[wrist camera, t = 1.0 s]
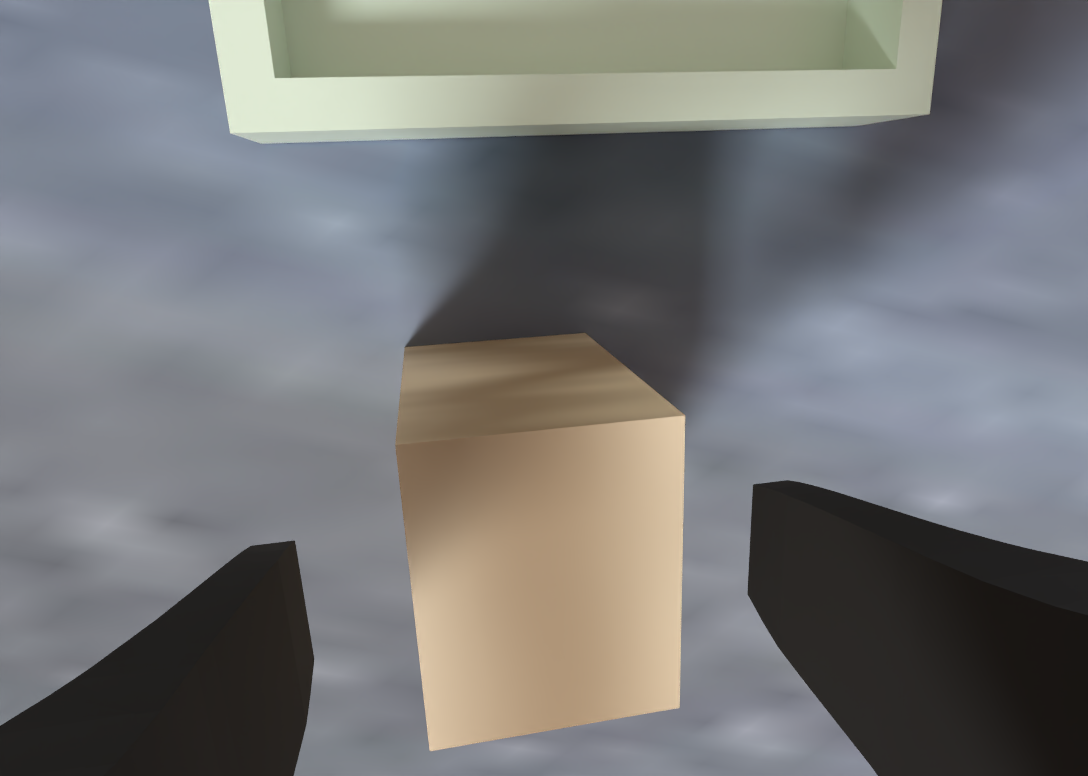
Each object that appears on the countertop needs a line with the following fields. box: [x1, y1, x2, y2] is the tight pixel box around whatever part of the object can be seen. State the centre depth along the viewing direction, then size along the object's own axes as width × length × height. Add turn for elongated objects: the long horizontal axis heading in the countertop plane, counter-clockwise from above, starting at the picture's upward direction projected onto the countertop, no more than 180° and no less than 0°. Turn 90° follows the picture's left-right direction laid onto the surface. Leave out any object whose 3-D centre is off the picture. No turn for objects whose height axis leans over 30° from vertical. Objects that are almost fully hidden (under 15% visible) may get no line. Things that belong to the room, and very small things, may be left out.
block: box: [395, 333, 685, 751], centre depth 13 cm, size 4×5×6 cm
